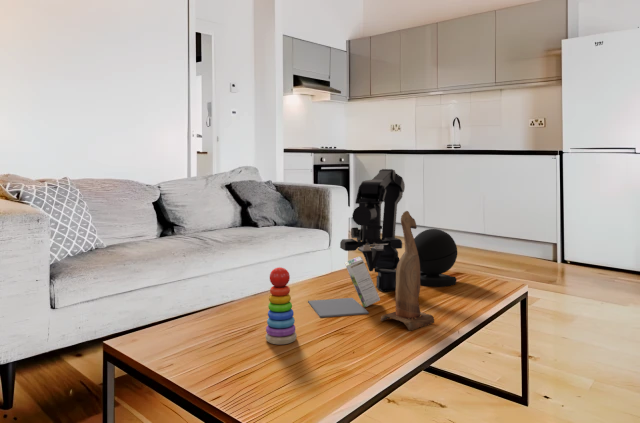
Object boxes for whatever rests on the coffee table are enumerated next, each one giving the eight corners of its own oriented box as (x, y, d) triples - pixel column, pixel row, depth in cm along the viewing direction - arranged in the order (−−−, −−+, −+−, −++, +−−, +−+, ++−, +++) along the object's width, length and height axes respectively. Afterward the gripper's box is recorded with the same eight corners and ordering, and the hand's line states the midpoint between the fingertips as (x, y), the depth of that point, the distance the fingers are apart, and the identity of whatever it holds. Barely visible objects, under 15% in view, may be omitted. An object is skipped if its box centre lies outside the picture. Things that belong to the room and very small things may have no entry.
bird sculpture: (436, 324, 139) (440, 211, 137) (410, 332, 131) (414, 213, 129) (404, 315, 148) (408, 208, 145) (378, 322, 140) (381, 210, 137)
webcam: (465, 284, 182) (467, 230, 180) (426, 288, 176) (428, 233, 174) (437, 274, 198) (438, 225, 196) (400, 278, 192) (401, 227, 190)
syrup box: (361, 302, 158) (343, 262, 157) (378, 295, 159) (360, 255, 157) (364, 308, 153) (345, 266, 151) (381, 300, 153) (362, 258, 151)
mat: (352, 299, 163) (352, 297, 163) (368, 313, 147) (368, 312, 147) (308, 302, 159) (308, 300, 159) (320, 317, 144) (320, 315, 144)
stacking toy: (301, 336, 128) (301, 265, 126) (289, 347, 121) (289, 272, 119) (273, 333, 131) (272, 263, 129) (260, 343, 123) (259, 270, 121)
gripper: (389, 218, 163) (388, 264, 165) (335, 219, 158) (335, 267, 160) (403, 222, 152) (402, 271, 154) (345, 223, 148) (345, 274, 149)
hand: (370, 271), depth 155 cm, fingers closed
